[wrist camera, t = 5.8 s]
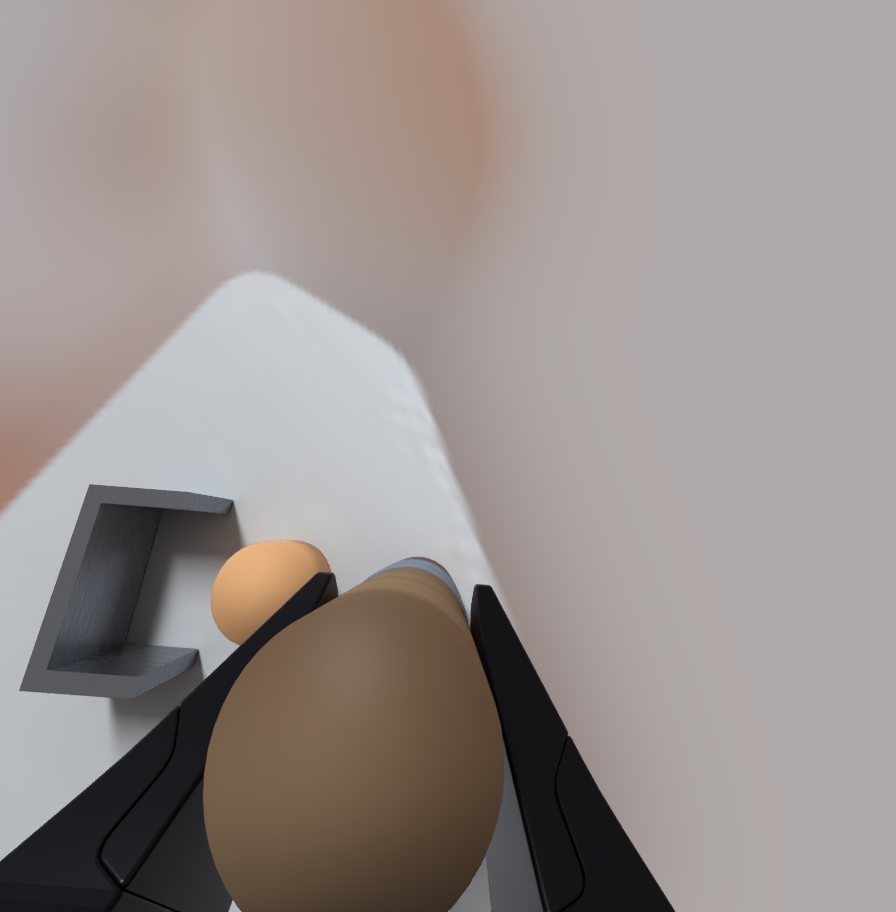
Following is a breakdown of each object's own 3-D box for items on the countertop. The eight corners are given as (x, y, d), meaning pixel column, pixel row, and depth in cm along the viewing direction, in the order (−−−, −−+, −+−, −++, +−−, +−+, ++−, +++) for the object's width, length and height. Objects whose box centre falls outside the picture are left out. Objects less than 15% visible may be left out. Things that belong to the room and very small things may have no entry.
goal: (193, 666, 15) (132, 699, 12) (103, 659, 15) (19, 690, 12) (232, 499, 16) (187, 491, 13) (152, 493, 16) (89, 484, 13)
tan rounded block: (324, 633, 15) (303, 651, 13) (238, 626, 15) (199, 643, 13) (338, 543, 16) (320, 545, 14) (256, 537, 16) (224, 537, 14)
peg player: (454, 648, 14) (502, 978, 4) (369, 641, 14) (158, 954, 4) (460, 559, 15) (512, 607, 4) (380, 552, 15) (239, 586, 4)
